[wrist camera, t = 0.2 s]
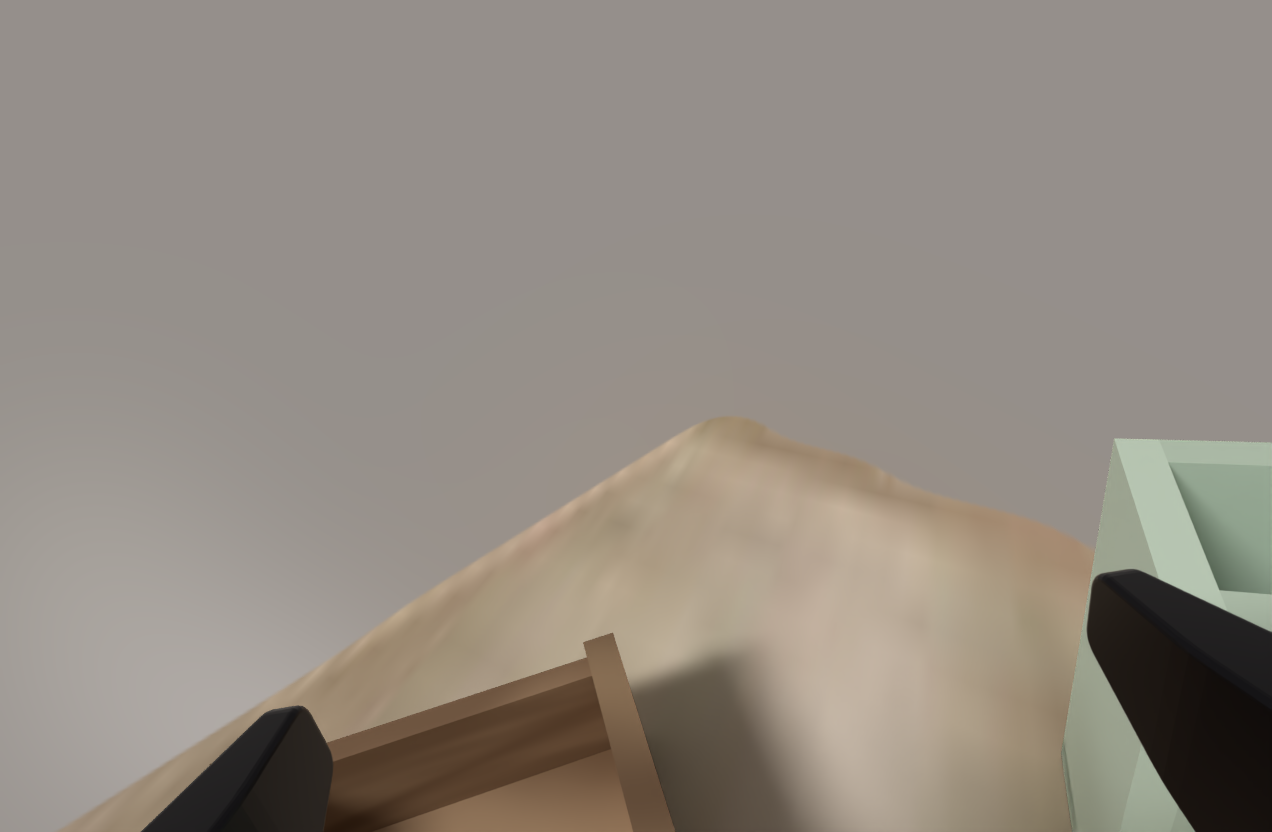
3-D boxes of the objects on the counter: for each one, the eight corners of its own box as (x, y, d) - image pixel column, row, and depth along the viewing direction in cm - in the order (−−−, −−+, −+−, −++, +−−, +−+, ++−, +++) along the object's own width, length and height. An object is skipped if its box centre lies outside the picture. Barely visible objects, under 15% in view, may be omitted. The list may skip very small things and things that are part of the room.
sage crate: (1378, 1020, 18) (1629, 666, 12) (1089, 952, 20) (1173, 621, 14) (1288, 788, 22) (1434, 446, 16) (1061, 753, 24) (1113, 438, 18)
